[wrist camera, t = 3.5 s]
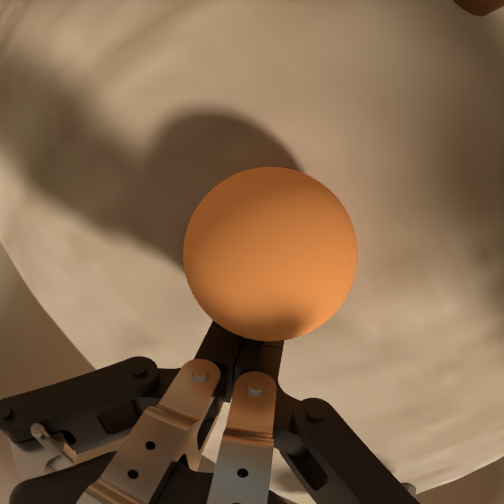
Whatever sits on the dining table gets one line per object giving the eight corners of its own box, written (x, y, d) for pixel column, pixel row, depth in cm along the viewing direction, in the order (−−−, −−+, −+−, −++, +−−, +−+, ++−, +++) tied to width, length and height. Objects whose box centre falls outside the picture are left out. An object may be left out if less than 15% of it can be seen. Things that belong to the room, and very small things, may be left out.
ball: (354, 214, 12) (395, 164, 6) (321, 340, 11) (342, 387, 6) (231, 184, 13) (189, 121, 7) (197, 305, 12) (129, 319, 7)
